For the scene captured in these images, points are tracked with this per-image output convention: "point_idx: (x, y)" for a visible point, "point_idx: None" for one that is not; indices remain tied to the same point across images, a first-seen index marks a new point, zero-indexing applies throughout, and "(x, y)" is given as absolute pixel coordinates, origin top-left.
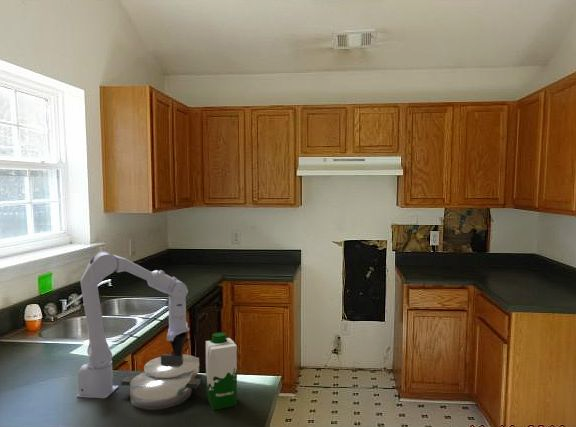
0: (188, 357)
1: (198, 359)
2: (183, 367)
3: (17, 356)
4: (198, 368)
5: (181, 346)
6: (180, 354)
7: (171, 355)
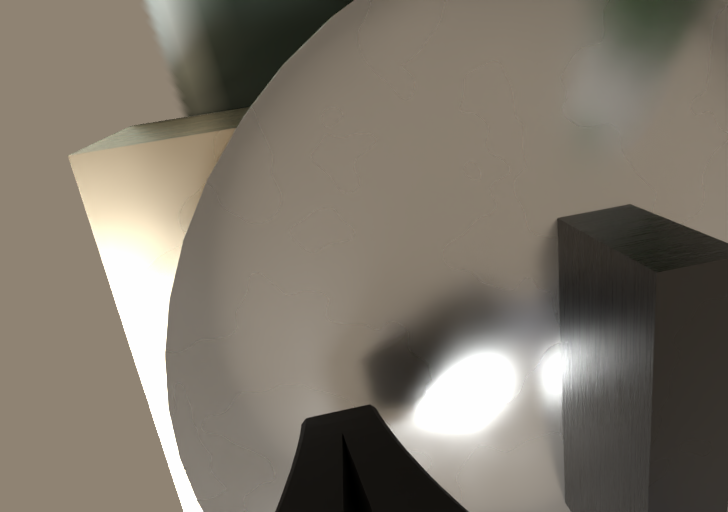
0: (283, 271)
1: (98, 148)
2: (715, 121)
3: None
4: (143, 127)
5: (442, 503)
6: (656, 324)
7: (712, 453)
